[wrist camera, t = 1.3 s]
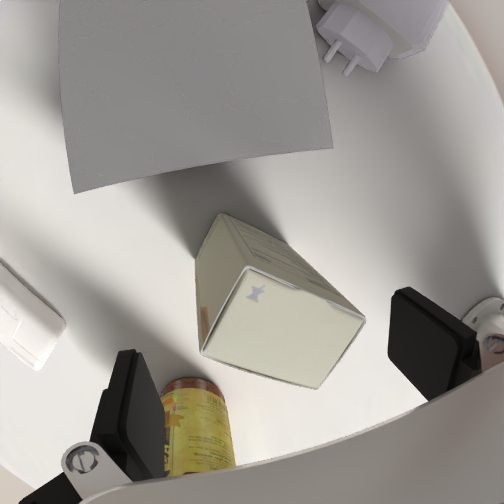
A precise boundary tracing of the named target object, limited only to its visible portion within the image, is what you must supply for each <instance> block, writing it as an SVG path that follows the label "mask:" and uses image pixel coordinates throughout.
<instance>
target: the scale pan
mask: <svg viewBox="0 0 504 504" xmlns="http://www.w3.org/2000/svg"><path fill="white" fill-rule="evenodd" d="M59 76H60V93H61V106H62V117H63V126H64V135H65V142H66V150H67V157H68V163H69V169H70V175H71V181H72V186H73V192H74V194H77V193H81V192H84V191H88V190H92V189H96V188H100V187H104V186H108V185H112V184H116V183H120V182H125V181H129V180H133V179H138V178H142V177H147V176H151V175H156V174H161V173H166V172H171V171H176V170H181V169H186V168H192V167H197V166H203V165H208V164H214V163H220V162H226V161H233V160H239V159H246V158H253V157H260V156H267V155H275V154H283V153H291V152H300V151H309V150H319V149H330V148H333V143H332V135H331V128H330V121H329V115H328V108H327V102H326V96H325V90H324V84H323V78H322V73H321V67H320V62H319V57H318V52H317V47H316V42H315V37H314V32H313V28H312V23H311V19H310V15H309V10H308V6H307V2H306V0H60V11H59Z"/></svg>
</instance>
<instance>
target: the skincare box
mask: <svg viewBox="0 0 504 504" xmlns="http://www.w3.org/2000/svg"><path fill="white" fill-rule="evenodd" d="M195 281H196V305H197V321H198V338H199V350H200V354H201V355H202V356H204V357H207V358H210V359H212V360H214V361H217V362H219V363H222V364H224V365H227V366H230V367H233V368H236V369H238V370H242V371H245V372H248V373H252V374H255V375H258V376H262V377H265V378H269V379H272V380H276V381H280V382H284V383H287V384H292V385H296V386H300V387H305V388H310V389H314V390H317V389H319V387H320V386H321V385H322V384H323V382H324V381H325V379H326V378H327V377H328V376H329V374H330V373H331V372H332V370H333V369H334V368H335V366H336V365H337V364H338V363H339V361H340V360H341V358H342V357H343V356H344V354H345V353H346V351H347V350H348V349H349V347H350V346H351V344H352V343H353V341H354V340H355V338H356V337H357V335H358V334H359V332H360V331H361V329H362V328H363V326H364V325H365V323H366V318H365V316H364V315H363V314H362V313H361V312H360V311H359V310H358V309H357V308H356V307H354V306H353V305H352V304H351V303H350V302H349V301H348V300H347V299H346V298H345V297H344V296H343V295H342V294H341V293H340V292H339V291H337V290H336V289H335V288H334V287H333V286H332V285H331V284H330V283H329V282H328V281H327V280H326V279H325V278H324V277H323V276H322V275H320V274H319V273H318V272H317V271H316V270H315V269H314V268H313V267H312V266H311V265H310V264H309V263H307V262H306V261H305V260H304V259H303V258H302V257H301V256H300V255H299V254H298V253H297V252H296V251H295V250H293V249H292V248H291V247H290V246H289V245H288V244H286V243H284V242H282V241H280V240H278V239H277V238H275V237H273V236H271V235H269V234H267V233H265V232H263V231H261V230H259V229H257V228H255V227H253V226H250V225H248V224H246V223H244V222H242V221H240V220H238V219H235V218H233V217H231V216H229V215H226V214H224V213H222V212H219V213H218V215H217V217H216V219H215V220H214V222H213V224H212V226H211V228H210V230H209V232H208V234H207V235H206V237H205V239H204V241H203V243H202V245H201V248H200V250H199V252H198V254H197V257H196V259H195Z"/></svg>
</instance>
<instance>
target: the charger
mask: <svg viewBox="0 0 504 504" xmlns="http://www.w3.org/2000/svg"><path fill="white" fill-rule="evenodd" d="M449 1H450V0H318V2H319V4H320V6H321V7H322V8H323V9H324V10H326V11H327V12H326V13H325V15H324V16H323V17H322V19H321V20H320V21H319V22H318V24H317V25H316V28H317V31H318V32H319V34H320V35H321V36H322V37H323V38H324V39H325V40H326V41H327V43H328V44H329V45H330V46H331V47H330V48H329V50H328V51H327V53H326V54H325V56H324V57H323V61H324V62H327V63H328V62H329V61H330V60H331V59H332V57H333V56H334V54H335V53H336V51H339V52H340V53H341V54H343V55H344V56H345V57H347V58H348V59H349V60H350V61H349V63H348V64H347V66H346V67H345V69H344V70H343V72H342V74H343V76H345V77H348V76H349V75H350V73H351V72H352V70H353V69H354V67H355V66H356V64H357V65H359V66H361V67H363V68H365V69H367V70H369V71H372V72H375V73H378V72H379V70H380V68H381V67H382V65H383V63H384V62H385V60H386V58H387V57H389V58H406V57H408V56H411V55H413V54H416V53H418V52H421V51H424V50H425V48H426V47H427V45H428V43H429V41H430V39H431V37H432V35H433V33H434V31H435V29H436V27H437V25H438V23H439V21H440V19H441V17H442V15H443V13H444V11H445V9H446V7H447V5H448V3H449Z"/></svg>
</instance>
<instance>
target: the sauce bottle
mask: <svg viewBox="0 0 504 504" xmlns="http://www.w3.org/2000/svg"><path fill="white" fill-rule="evenodd" d="M160 400H161V402H162V404H163V407H164V410H165V477H171V476H178V475H186V474H193V473H200V472H206V471H212V470H218V469H223V468H229V467H234V466H236V464H235V458H234V451H233V444H232V438H231V431H230V424H229V418H228V411H227V407H226V405H225V400H224V397H223V394H222V392H221V391H219V389H218V388H217V387H216V386H215V385H214V384H212V383H210V382H208V381H207V380H204V379H199V378H181V379H178V380H176V381H173V382H172V383H170V384H169V385H168V386H167V387H166V388H165V389H164V391H163V392H162V394H161V396H160Z"/></svg>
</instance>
